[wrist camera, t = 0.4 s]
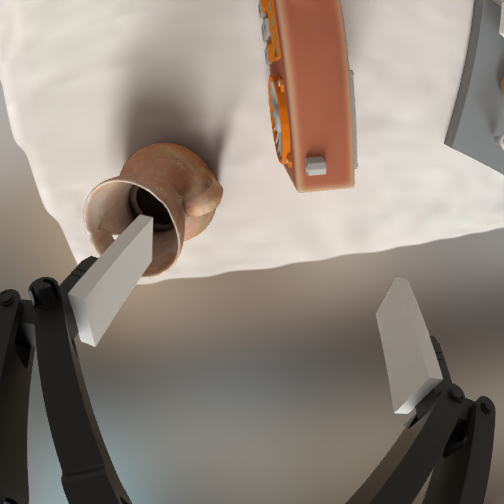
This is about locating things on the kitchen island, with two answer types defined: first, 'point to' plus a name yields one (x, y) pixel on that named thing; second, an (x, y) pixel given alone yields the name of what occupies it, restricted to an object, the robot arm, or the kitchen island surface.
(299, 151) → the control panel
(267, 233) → the kitchen island surface
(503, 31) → the rocker switch
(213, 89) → the kitchen island surface
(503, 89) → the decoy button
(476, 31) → the switch panel
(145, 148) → the ceramic jug
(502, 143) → the toggle lever
